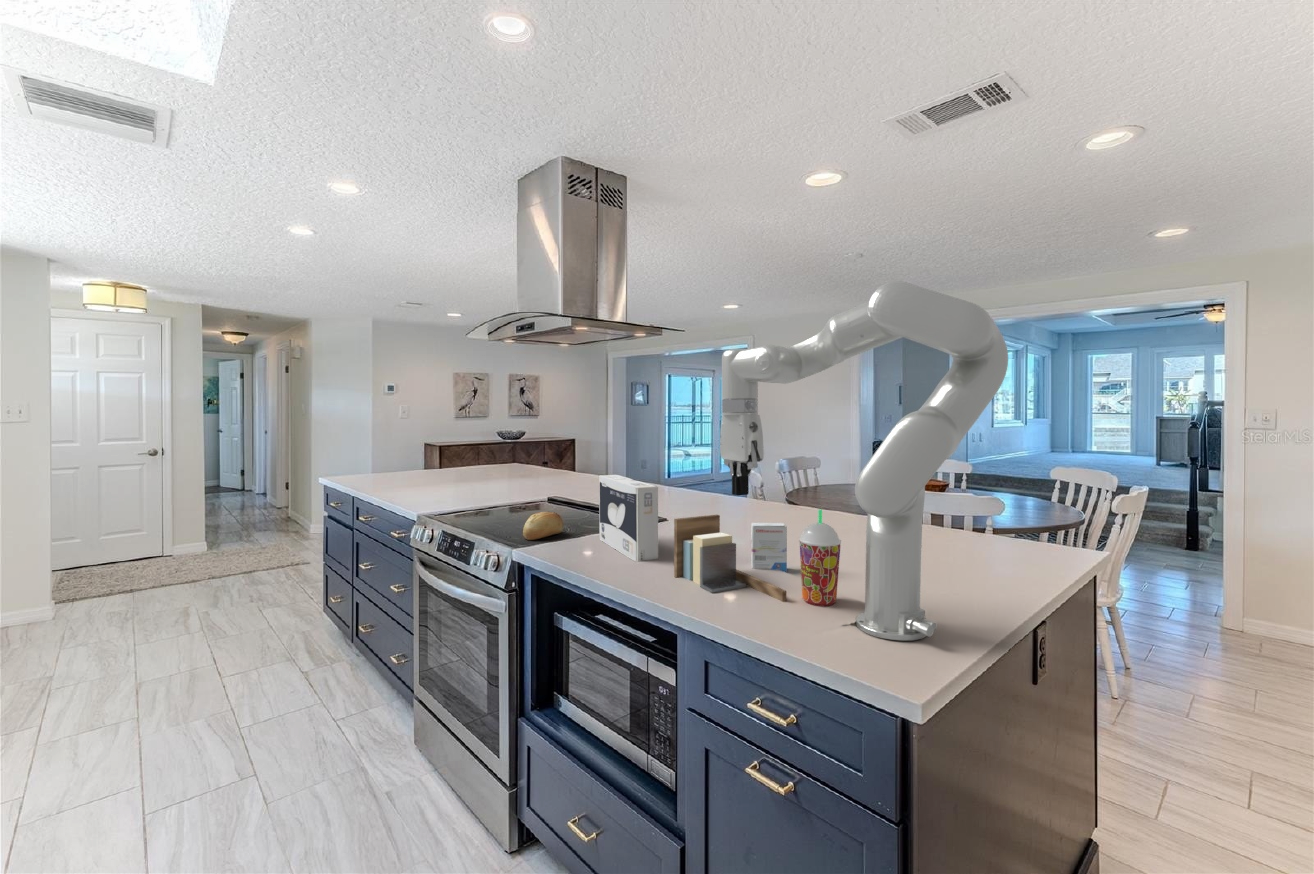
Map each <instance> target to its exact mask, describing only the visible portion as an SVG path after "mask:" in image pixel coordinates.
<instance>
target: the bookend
mask: <svg viewBox="0 0 1314 874" xmlns="http://www.w3.org/2000/svg"><path fill="white" fill-rule="evenodd" d="M736 569H737V543H736V542H732V543H728V544H720V545H712V546H705V547H700V585H699V587H700V588H702V589H704V590H705V591H707V592H709V593H710V594H715V593H721V592H727V591H733V590H738V589H744V588H747V585H746V583H744V582H741V581H739V580H737V579H736Z"/></svg>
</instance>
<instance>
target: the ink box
mask: <svg viewBox="0 0 1314 874" xmlns="http://www.w3.org/2000/svg"><path fill="white" fill-rule="evenodd" d="M750 525H751V526H750V527H751V528H750V532H751V533H750V556H751V557H750V558H751V559H750V561H751V563H750V564H751V565H750V567H751V568H752V569H753V570H779V571H781V572H784V573H787V571H788V566H787V564H788V561H787V558H788V553H787V552H788V549H787V548H788V537H787V536H788V530H787V529H788V528H787V525H786V524H785V523H783V522H751V523H750Z"/></svg>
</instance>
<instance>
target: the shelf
mask: <svg viewBox="0 0 1314 874" xmlns="http://www.w3.org/2000/svg"><path fill="white" fill-rule="evenodd" d="M720 517H721V516H720V514H710V515H700V516H691V517H681V518H680V517H678V518H674V520H673V521H674V522H673V523H674V524H673V525H674V528H673V529H674V531H673V532H674V533H673V537H674V538H673V539H674V540H673V541H674V547H673V550H674V551H673V552H674V554H673V555H674V558H673V560H674V563H673V564H674V569H673V570H674V573H673V575H674V578H675V579H681V578H684V577H683V540H692V539H693V536H696V535H704V534H713V533H721V532H720V531H721V530H720V529H721V528H720V526H721V523H720V522H721V518H720ZM736 579H737V580H739V581H741V582H744V583H746V587H750V588H752V589H754V590H756V591H758V592H761V593H762V594H765V595H767V596H769V597H771V598H773V599H775V600H777V601H780V602H787V590H785V589H783V588H781V587H778V586H776V585H773V584H771V583H770V582H766V581H765V580H762V579H760V578H758V577H754V576H753V575H750V574H748V573H746V572H743V571H741V570H740V569H737V568H736Z"/></svg>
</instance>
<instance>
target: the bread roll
mask: <svg viewBox="0 0 1314 874" xmlns="http://www.w3.org/2000/svg"><path fill="white" fill-rule="evenodd" d="M563 530H564V521H563V519H562V517H561V516H560V514H559V513H557V512H555V511H554V512H552V511H541V512H536V513H534V514H532V515H530V516H529V517H528V519H527V520H526V522H525V523H524V525H523V529H522V536H523V537H524V538H525V539H526V540H528V541H535V540H539V539H543V538H546V537H549V536H553V535H557V534H560V533H562V531H563Z"/></svg>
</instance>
